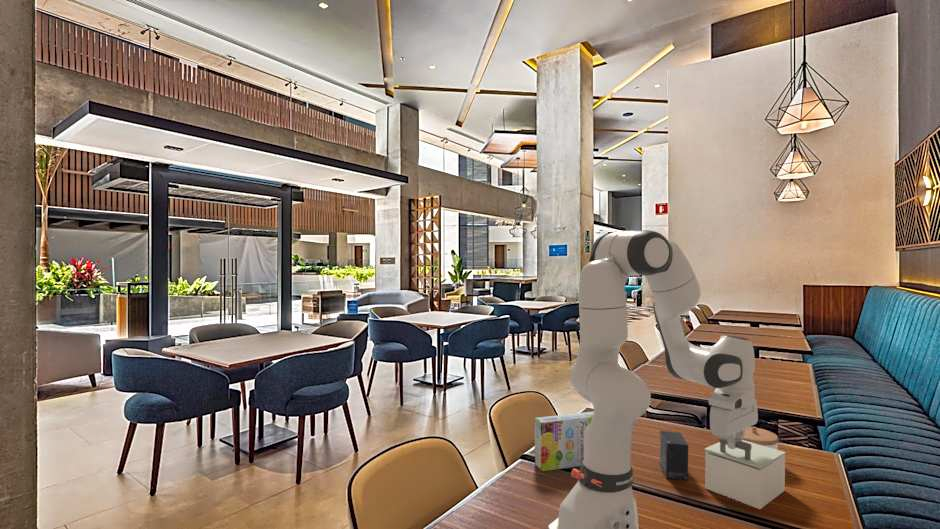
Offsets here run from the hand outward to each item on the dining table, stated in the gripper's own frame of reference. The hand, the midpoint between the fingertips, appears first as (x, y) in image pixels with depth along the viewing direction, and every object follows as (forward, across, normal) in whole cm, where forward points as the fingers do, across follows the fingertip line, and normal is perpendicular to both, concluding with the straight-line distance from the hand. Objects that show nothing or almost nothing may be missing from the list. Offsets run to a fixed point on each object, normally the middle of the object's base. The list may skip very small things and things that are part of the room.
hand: (735, 446), depth 128 cm
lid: (+3, -6, 0) cm, 7 cm away
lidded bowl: (+14, -27, -6) cm, 31 cm away
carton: (+13, -6, 0) cm, 15 cm away
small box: (+14, -1, -18) cm, 23 cm away
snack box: (+14, +20, -41) cm, 47 cm away
